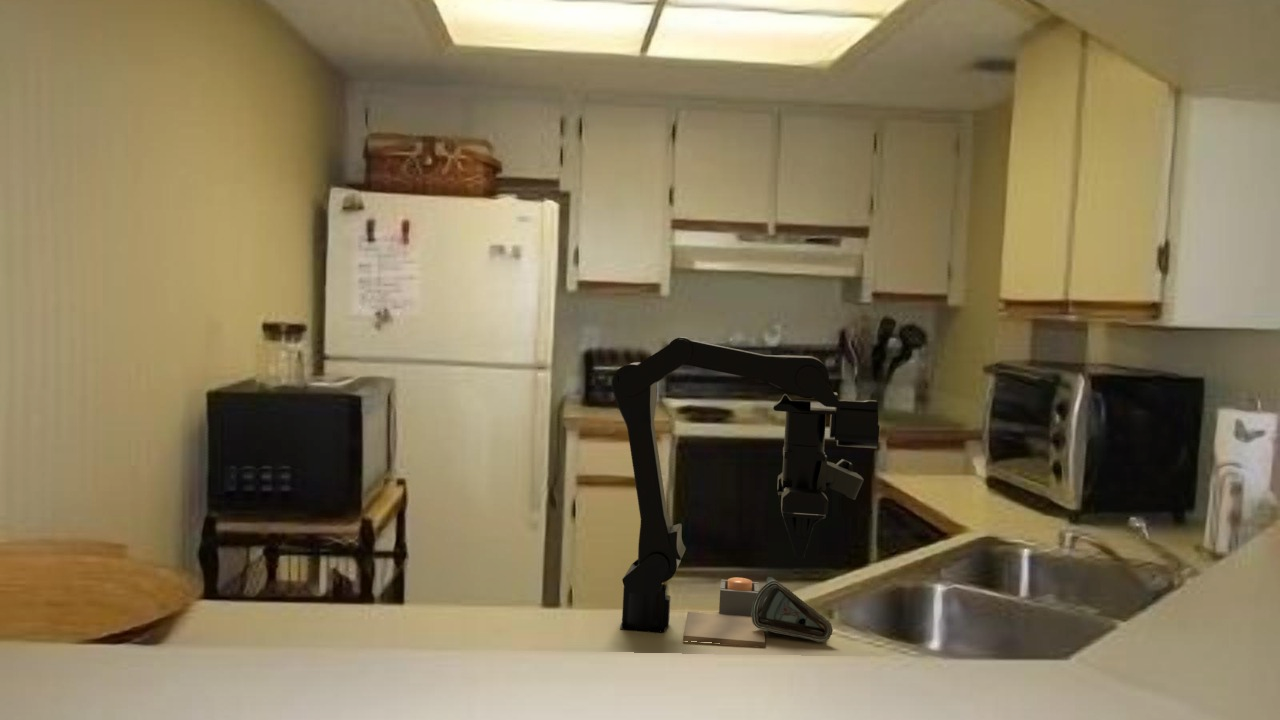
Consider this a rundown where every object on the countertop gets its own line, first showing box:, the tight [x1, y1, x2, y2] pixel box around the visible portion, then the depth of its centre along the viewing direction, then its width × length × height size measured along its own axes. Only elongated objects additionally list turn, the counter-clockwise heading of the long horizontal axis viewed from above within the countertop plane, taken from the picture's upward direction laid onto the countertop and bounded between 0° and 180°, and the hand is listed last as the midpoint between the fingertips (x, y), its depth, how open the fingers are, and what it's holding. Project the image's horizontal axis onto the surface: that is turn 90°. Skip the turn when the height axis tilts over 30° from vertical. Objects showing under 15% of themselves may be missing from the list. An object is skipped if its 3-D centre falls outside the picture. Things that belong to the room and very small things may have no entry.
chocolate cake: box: [751, 576, 834, 643], centre depth 144 cm, size 10×7×12 cm
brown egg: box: [727, 577, 753, 591], centre depth 154 cm, size 4×4×4 cm
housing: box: [718, 579, 760, 617], centre depth 154 cm, size 6×6×4 cm
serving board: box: [682, 611, 766, 648], centre depth 143 cm, size 12×11×1 cm
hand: (798, 550), depth 141 cm, fingers open, 9 cm apart
